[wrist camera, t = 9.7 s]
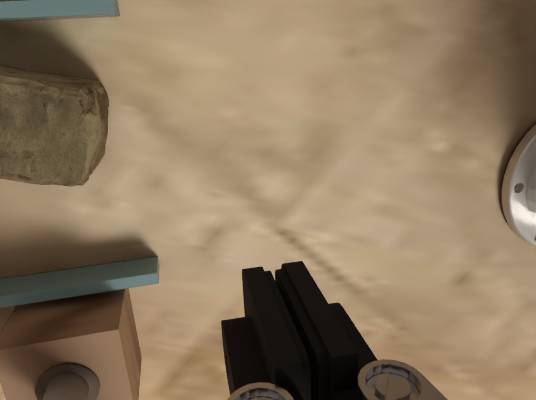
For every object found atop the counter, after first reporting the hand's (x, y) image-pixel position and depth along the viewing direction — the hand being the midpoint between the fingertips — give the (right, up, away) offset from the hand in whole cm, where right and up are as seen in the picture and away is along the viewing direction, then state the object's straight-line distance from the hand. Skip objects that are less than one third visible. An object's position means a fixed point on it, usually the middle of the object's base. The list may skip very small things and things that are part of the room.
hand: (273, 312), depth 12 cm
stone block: (-16, +8, +15) cm, 23 cm away
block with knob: (-14, -6, +20) cm, 25 cm away
